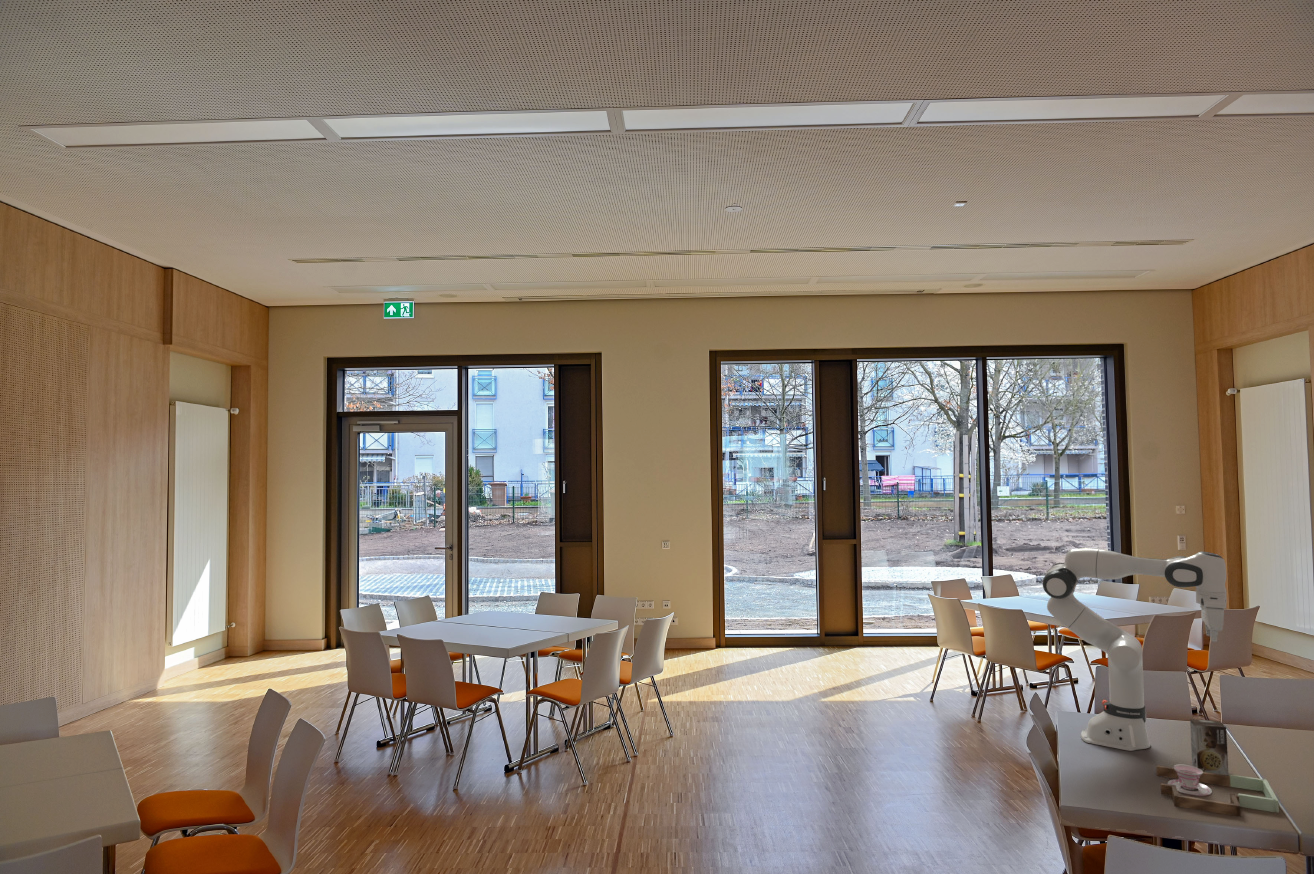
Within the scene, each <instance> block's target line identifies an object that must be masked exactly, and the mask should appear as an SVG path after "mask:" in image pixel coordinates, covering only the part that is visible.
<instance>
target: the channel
mask: <svg viewBox="0 0 1314 874" xmlns="http://www.w3.org/2000/svg"><path fill="white" fill-rule="evenodd" d="M1156 776H1158V777H1162V778H1169V779H1170V778H1171V779H1175V780H1176V779H1179V777H1178V775H1177V772H1176V771H1175V770H1174V767H1171V766H1165V765H1156ZM1199 783H1202V784H1209V785H1217V786H1223V787H1230V775H1220V774H1213V773H1206V772H1203V774H1202V775H1201V776H1200V779H1199ZM1160 794H1161V795H1164V796H1169V797H1170V796H1171V797H1172V798H1171V799H1172V802H1173V805H1174V807H1177V808H1178V807H1180V808H1185V809H1190V810H1191V809H1192V810H1197V811H1202V812H1203V811H1204V812H1208V813H1209V812H1210V813H1216V814H1223V815H1227V816H1235V817H1241V816H1242V815H1241V810H1242V809H1241V807H1240V804H1239V795H1238V794H1234V793H1230V794H1229V799H1230V802H1223V801H1217V800H1212V799H1205V798H1199V797H1192V796H1186V795H1179V792H1178V791H1177V788H1176V785H1170V784H1167V783H1163V782H1162V783H1160Z"/></svg>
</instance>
